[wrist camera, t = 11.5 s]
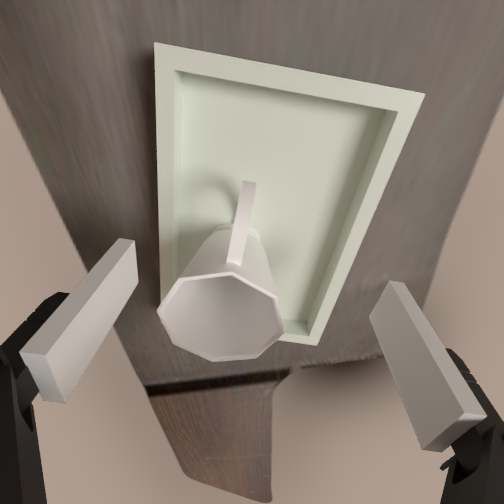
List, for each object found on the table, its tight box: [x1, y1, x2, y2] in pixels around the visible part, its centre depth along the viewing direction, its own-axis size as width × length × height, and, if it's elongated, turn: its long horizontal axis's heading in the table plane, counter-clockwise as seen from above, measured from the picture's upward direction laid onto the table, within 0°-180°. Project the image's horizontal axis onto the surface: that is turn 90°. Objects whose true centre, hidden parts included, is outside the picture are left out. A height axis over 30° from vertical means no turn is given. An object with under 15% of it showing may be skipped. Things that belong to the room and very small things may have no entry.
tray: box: [154, 42, 425, 345], centre depth 20 cm, size 20×14×2 cm
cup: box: [156, 180, 284, 362], centre depth 18 cm, size 7×10×8 cm
